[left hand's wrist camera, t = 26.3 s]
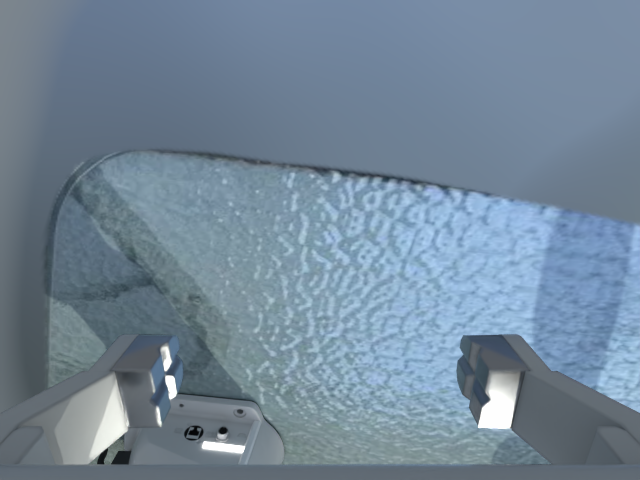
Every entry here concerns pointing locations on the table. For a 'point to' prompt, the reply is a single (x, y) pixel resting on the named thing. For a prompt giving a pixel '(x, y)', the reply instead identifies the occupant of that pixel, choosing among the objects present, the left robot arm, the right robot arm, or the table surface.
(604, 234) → the table surface
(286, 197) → the table surface
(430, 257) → the table surface
